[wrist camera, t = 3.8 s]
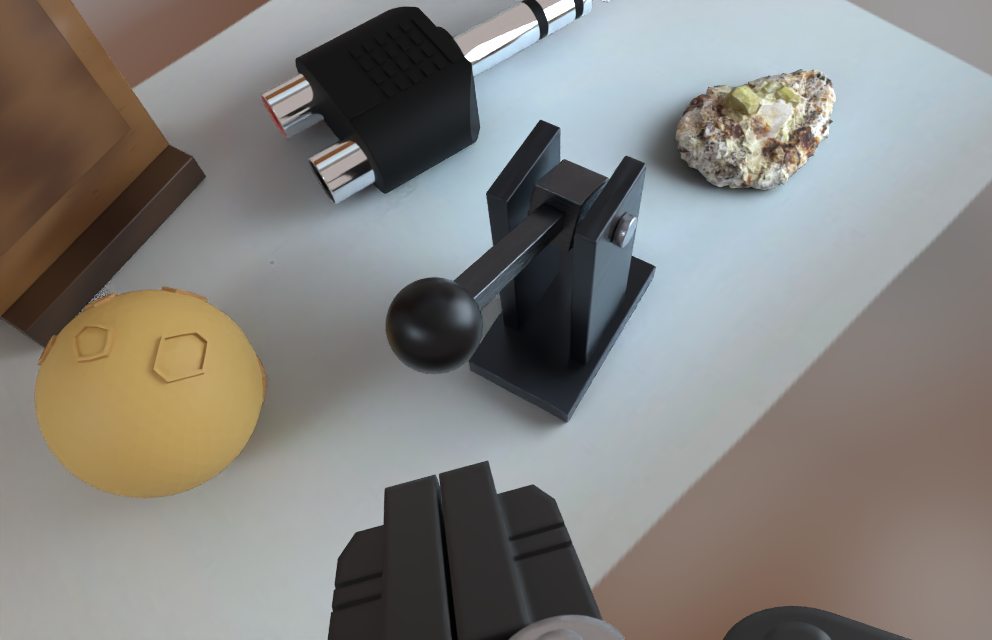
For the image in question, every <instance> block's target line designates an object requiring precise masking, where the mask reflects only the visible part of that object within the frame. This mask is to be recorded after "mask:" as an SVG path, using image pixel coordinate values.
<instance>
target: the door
mask: <svg viewBox="0 0 992 640" xmlns="http://www.w3.org/2000/svg"><path fill="white" fill-rule="evenodd" d="M205 177H206V176H205V174H204V173H203V171H202V170H201V168H200V167H199V165H198V164H197V162H196V161H195V159H194V158H193V157H192V156H190V155H188V154H186V153H185V152H183V151H181V150H179V149H177V148H175V147H173V146H171V145H169V143H168V142H167V140H166V139H165V137H164V136H163V134H162V133H161V131H160V130H159V128H158V127H157V126H156V124H155V123H154V121H153V120H152V118H151V117H150V115H149V114H148V112H147V111H146V109H145V108H144V107H143V105H142V104H141V102H140V101H139V99H138V98H137V96H136V95H135V93H134V92H133V90H132V89H131V88H130V86H129V85H128V83H127V82H126V80H125V79H124V77H123V76H122V74H121V73H120V72H119V70H118V69H117V67H116V66H115V64H114V63H113V61H112V60H111V58H110V57H109V55H108V54H107V53H106V51H105V50H104V48H103V47H102V45H101V44H100V42H99V41H98V39H97V38H96V36H95V35H94V33H93V32H92V31H91V29H90V28H89V26H88V25H87V23H86V22H85V20H84V19H83V17H82V16H81V15H80V13H79V12H78V10H77V9H76V7H75V6H74V4H73V3H72V1H71V0H0V318H1V319H2V320H4V321H5V322H7V323H8V324H10V325H11V326H13V327H14V328H16V329H17V330H19V331H20V332H22V333H23V334H25V335H26V336H28V337H29V338H31V339H32V340H34V341H35V342H37V343H38V344H40V345H41V346H43V347H46V346H47V344H48V342H49V341H50V339H51V338H52V337H53V335H55V336H57V335H58V334H59V333H60V332H61V331H62V329H63V328H64V327H65V326H66V325H67V324H68V323H69V322H71V321H72V319H73V318H74V317H75V316H76V315H77V314H78V313H79V312H80V311H81V310H82V309H83V307H85V306H86V304H87V303H88V302H89V301H90V300H91V299H92V298H93V297H94V296H95V295H96V294H97V293H98V292H99V291H100V289H101V288H102V287H103V286H104V285H105V284H106V283H107V282H108V281H109V280H110V279H111V278H112V277H113V276H114V274H115V273H116V272H117V271H118V270H119V269H120V268H121V267H122V266H123V265H124V264H125V263H126V262H127V261H128V259H129V258H130V257H131V256H132V255H133V254H134V253H135V252H136V251H137V250H138V249H139V248H140V247H141V246H142V244H143V243H144V242H145V241H146V240H147V239H148V238H149V237H150V236H151V235H152V234H153V233H154V232H155V231H156V229H157V228H158V227H159V226H160V225H161V224H162V223H163V222H164V221H165V220H166V219H167V218H168V217H169V216H170V214H171V213H172V212H173V211H174V210H175V209H176V208H177V207H178V206H179V205H180V204H181V203H182V202H183V201H184V199H185V198H186V197H187V196H188V195H189V194H190V193H191V192H192V191H193V190H194V189H195V188H196V187H197V186H198V184H199V183H200V182H201V181H202V180H203V179H204V178H205Z"/></svg>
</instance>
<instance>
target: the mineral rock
mask: <svg viewBox="0 0 992 640" xmlns="http://www.w3.org/2000/svg"><path fill="white" fill-rule="evenodd" d="M707 94H708V95H704V94H702V95H699V96H698V97H696V98H694V99H693V100H692V101H691V102H690V104H689V106H688V107H687V108H686V110H685V111H684V113H683V115H682V117H681V121H680V122H679V123H678V126H677V131H676V140H677V145H678V151H679V152H680V153H681V159H684V160H685V161H686V162H687V163H688V165H689V167H692V168H695V169H697V170H699V171H700V173H701V174H702V175H703V176H704V177H706V180H707V181H708V182H710V183H711V184H713V185H716V186H719V187H723V186H726V185H729V186H730V188H741V187H743V188H748V187H753V188H754V189H761V190H768V189H775V186H776V185H780V184H785V183H787V181H788V179H789V177H790V176H791V175H793V174H794V173H795V172H796V170H797V169H799V168H801V167H802V166H803V165H805V163H806V162H807V158H809V157H810V156H814V152H815V149H816V148H817V146H818V144H819V142H821V141H823V140H825V139H826V138H827V137H828V134H829V124H830V123H831V122H832V121H831V120H830V115H831V112H832V109H833V107H832V105H833V104H834V103H835V99H836V95H835V93H834V89H833V87H832V82H831V80H829V79H828V77H827V76H826V75H825V74H824V73H822V72H819V71H816V70H811V71H802V70H801V69H800V70H798V71H796V72H793V73H790V74H784V73H782V74H781V75H775V76H768V77H763V78H759V79H757V80H755V81H752V82H748V84H744V85H743V86H738V87H734V88H732V87H730V86H727V85H722V86H714V87H713V88H712V87H708V89H707Z"/></svg>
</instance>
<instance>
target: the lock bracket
mask: <svg viewBox="0 0 992 640" xmlns="http://www.w3.org/2000/svg"><path fill="white" fill-rule="evenodd" d="M559 163H560V128H559V127H557V126H555V125H552V124H550V123H547V122H545V121H542V120H540V121H539V122H538V123H537V125H536V126H535V128H534V129H533V130H532V132H531V133H530V134H529V136H528V137H527V138H526V140H525V141H524V142H523V144H522V145H521V147H520V148H519V149H518V151H517V152H516V153H515V155H514V156H513V157H512V159H511V160H510V161H509V163H508V164H507V166H506V167H505V168H504V170H503V171H502V172H501V174H500V175H499V176H498V178H497V179H496V181H495V182H494V183H493V185H492V186H491V187H490V189H489V190H488V191H487V193H486V196H487V204H488V211H489V218H490V226H491V233H492V240H493V246H494V245H495V244H496V243H498V242H499V241H500V240H501V239H502V238H503V237H504V236H506V235H507V234H508V233H509V232H510V231H511V230H512V229H514V228H515V227H516V226H517V225H518V224H519V223H521V222H522V221H523V220H524V219H525V218H526V217H527V214H528V210H529V205H530V200H531V196H532V191H533V187H534V183H535V182H537V181H538V180H539V179H540V178H542V177H543V176H544V175H545V174H546V173H548V172H549V171H550V170H551V169H553V168H554V167H555V166H556V165H557V164H559ZM645 171H646V164H645V163H643V162H641V161H638V160H636V159H633V158H631V157H629V156H625V157H624V158H623V160H622V161H621V163H620V164H619V166H618V167H617V169H616V170H615V172H614V173H613V175H612V176H611V178H610V179H609V181H608V182H607V184H606V185H605V187H604V188H603V190H602V191H601V193H600V194H599V196H598V198H597V199H596V201H595V202H594V204H593V205H592V207H591V208H590V210H589V211H588V213H587V214H586V216H585V217H584V219H583V220H582V222H581V223H580V225H579V226H578V228H577V229H576V231H575V232H574V247H573V248H572V249H571V250H570V251H569V252H568V251H565V250H563V249H561V248H559V247H557V246H555V245H552V244H550V243H549V244H548V245H547V246H546V247H545V248H544V249H543V250H542V251H541V252H540V253H539V254H538V255H537V256H536V257H535V258H534V259H533V260H532V261H531V262H530V263H529V264H528V265H527V266H526V267H525V268H524V269H523V270H522V271H520V272H519V273H518V274H517V275H516V276H515V277H514V278H513V279H512V280H511V281H510V282H509V283H508V284H507V285H506V286H505V287H504V288H503V289H502V290H501V291H500V299H501V307H502V312H501V313H500V315H499V316H498V318H497V319H496V321H495V322H494V324H493V325H492V327H491V328H490V330H489V331H488V333H487V334H486V336H485V337H484V338H483V340H482V341H481V343H480V344H479V346H478V347H477V349H476V351H475V353H474V354H473V355H472V356H471V358H470V359H469V361H468V362H469V366H470V370H471V371H473V372H475V373H477V374H479V375H481V376H482V377H484V378H486V379H488V380H490V381H492V382H493V383H495V384H497V385H499V386H501V387H503V388H505V389H506V390H508V391H510V392H512V393H514V394H516V395H517V396H519V397H521V398H523V399H525V400H527V401H529V402H530V403H532V404H534V405H536V406H538V407H540V408H541V409H543V410H545V411H547V412H549V413H551V414H553V415H554V416H556V417H558V418H560V419H562V420H564V421H565V422H568V421H569V419H570V418H571V416H572V414H573V413H574V411H575V409H576V408H577V406H578V404H579V402H580V401H581V399H582V397H583V396H584V394H585V392H586V391H587V389H588V387H589V386H590V384H591V382H592V381H593V379H594V377H595V375H596V374H597V372H598V370H599V369H600V367H601V365H602V364H603V362H604V360H605V359H606V357H607V355H608V353H609V352H610V350H611V348H612V347H613V345H614V343H615V342H616V340H617V338H618V337H619V335H620V333H621V331H622V330H623V328H624V326H625V325H626V323H627V321H628V320H629V318H630V316H631V315H632V313H633V311H634V309H635V308H636V306H637V304H638V303H639V301H640V299H641V298H642V296H643V294H644V293H645V291H646V289H647V287H648V286H649V284H650V282H651V281H652V279H653V277H654V272H655V268H656V267H655V266H653V265H651V264H649V263H647V262H645V261H642V260H640V259H638V258H636V257H634V256H632V250H633V244H634V238H635V232H636V226H637V220H638V214H639V208H640V201H641V195H642V189H643V183H644V177H645Z"/></svg>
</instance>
